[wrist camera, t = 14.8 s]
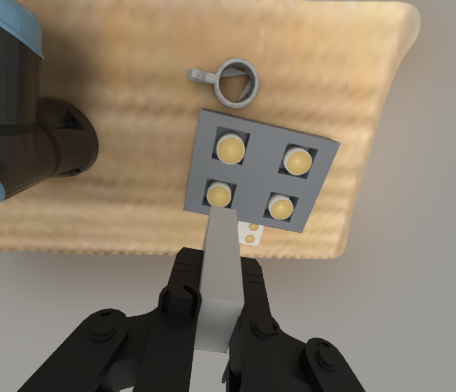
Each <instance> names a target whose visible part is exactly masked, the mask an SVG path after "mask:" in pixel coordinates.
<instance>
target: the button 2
mask: <svg viewBox="0 0 456 392" xmlns="http://www.w3.org/2000/svg"><path fill="white" fill-rule="evenodd" d="M244 154H245V147H244V144H243V141H242V138H241V137H240V136H239V135H238V134H237V133H235V132H226V133H224V134H222V135H221V136H220V138H219V140H218V144H217V155H218V158H219V159H220V160H221V161H222V162H223V163H225V164H230V165H232V164H236V163H238V162H240V161H241V160H242V158H243V157H244Z"/></svg>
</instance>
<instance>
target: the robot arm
mask: <svg viewBox="0 0 456 392" xmlns="http://www.w3.org/2000/svg"><path fill="white" fill-rule="evenodd" d="M41 60H44V55H43V54H42V28H41V25H40V22H39V21H38V19H37V18H36V16H35V15H34V14H33V13H32V12H31V11H30V10H29V9H27V8H26V7H25V6H23V5H22V4H20V3H18V2H17V1H15V0H0V202H2V201H3V200H5V199H7V198H9V197H11V196H13V195H15V194H17V193H19V192H21V191H23V190H25V189H27V188H29V187H31V186H33V185H35V184H37V183H39V182H41V181H43V180H45V179H48V178H63V177H71V176H75V175H78V174H80V173H82V172H83V171H85V170H87V169H88V168H89V167H91V165H92V164H93V163H94V161H95V159H96V157H97V153H98V141H97V136H96V133H95V131H94V129H93V127H92V125H91V123H90V122H89V120H88V119H87V118H86V117H85V116H84V115H83V113H81V112H80V111H79V110H78V109H77V108H75V107H74V106H73V105H71V104H69V103H67V102H65V101H63V100H60V99H57V98H51V97H39V90H40V74H41ZM264 284H265V283H264V279H263V273H262V268H261V266H260V265H259V263H258V262H257V260H256V259H252V258H246V257H241V256H240V248H239V237H238V226H237V214H236V210H234V209H229V208H224V207H219V206H214V205H211V209H210V214H209V218H208V223H207V228H206V232H205V237H204V241H203V247H202V250H197V249H192V248H186V247H183V248H182V249H181V250H180V251H179V252H178V253H177V255H176V259H175V263H174V265H173V268H172V272H171V275H170V278H169V281H168V285H167V286H166V287H165V288H163V290H162V291H161V293H160V295H159V302H158V307H157V308H156V309H154V310H153V311H151V312H149V313H147V314H143V315H138V316H132V317H126V315H125V314H124V313H123V312H121V311H120V310H116V309H104V310H100V311H98V312H95V313H93V314H91V315H90V316H89V317H87V318H86V319H85V320H84V321H83V322H82V323H81V324H80V325H79V326H78V327H77V328H76V329H75V330H74V331H73V332H72V333H71V335H69V337H68V338H67V339H66V340H65V341H64V342H63V343H62V344H61V345H60V346H59V347H58V348H57V350H56V351H55V352H54V353H53V354H52V355H51V356H50V357H49V358H48V359H47V360H46V361H45V362H44V363H43V364H42V365H41V366H40V368H39V369H38V370H37V371H36V372H35V373H34V374H33V375H32V376H31V377H30V378H29V379H28V380H27V381H26V382H25V383H24V385H23V386H22V387H21V388H20V389H19V390H18V391H17V392H119V391H120V390H122V389H126V388H130V387H133V386H134V388H133V391H132V392H189V385H190V377H191V370H192V361H193V352H194V349H197V350H205V351H212V352H220V353H227V350H228V347H229V361H228V363H227V366H226V369H225V371H224V374H223V377H222V383H225V381H226V392H365V390H364V388H363V387H362V385H361V384H360V382H359V381H358V379H357V377H356V376H355V374H354V373H353V371H352V370H351V368H350V367H349V365H348V363H347V362H346V360H345V359H344V357H343V356H342V354H341V353H340V352H339V351H338V349H337V348H336V347H335V346H333V345H332V344H331V343H330V342H328V341H326V340H324V339H322V338H312V339H309V340H308V342H307V343H304V342H302V341H300V340H297V339H295V338H293V337H291V336H289V335H288V334H286V333H284V332H283V331H282V330H281V329H280V327H279V324H278V323H277V322H276V320H275V319H274V318H273V317H272V316H271V312H270V307H269V303H268V298H267V293H266V288H265V285H264Z"/></svg>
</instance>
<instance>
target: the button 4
mask: <svg viewBox="0 0 456 392" xmlns="http://www.w3.org/2000/svg"><path fill="white" fill-rule="evenodd" d="M281 163H282V164H283V165H284V167H285V168H286V169H287V170H288V171H289V172H290V173H291V174H293V175H301V174H304V173H305V172H307V171H308V170H309V168H310V167H311V164H312V158H311V156H310V154H309V153H308V152H307V151H305V150H304V149H302V148H301V147H299V146H298V145H295V144H291V145H288V146H286V149H285V152H284V155H283V158H282V161H281Z"/></svg>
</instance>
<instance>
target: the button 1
mask: <svg viewBox="0 0 456 392" xmlns="http://www.w3.org/2000/svg"><path fill="white" fill-rule="evenodd" d="M207 200H208V202H209V203H210V204H211V205H214V206H219V207H224V206H226V205H227V204H228V203H229V202H230V200H231V185H230V183H228V182H223V181H218V180H214V179H212V180H211V181H210V183H209V187H208V192H207Z"/></svg>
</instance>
